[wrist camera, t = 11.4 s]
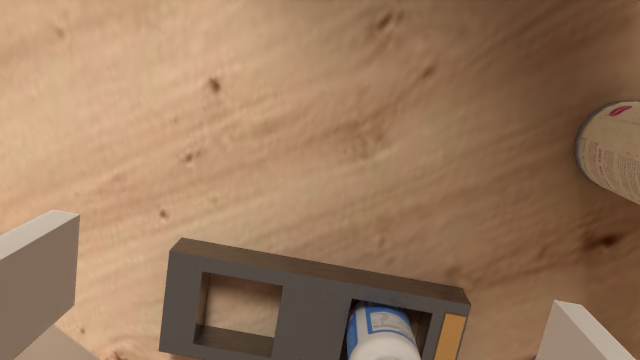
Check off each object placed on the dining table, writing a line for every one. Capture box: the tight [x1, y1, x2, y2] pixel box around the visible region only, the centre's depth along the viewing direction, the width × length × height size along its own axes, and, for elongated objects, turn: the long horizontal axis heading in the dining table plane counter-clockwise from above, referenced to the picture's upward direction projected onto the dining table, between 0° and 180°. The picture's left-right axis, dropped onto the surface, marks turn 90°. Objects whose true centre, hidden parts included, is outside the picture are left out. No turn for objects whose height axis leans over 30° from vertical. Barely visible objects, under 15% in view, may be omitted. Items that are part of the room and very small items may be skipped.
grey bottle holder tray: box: [159, 238, 471, 360], centre depth 41 cm, size 9×24×3 cm, turn 80°
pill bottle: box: [346, 300, 421, 360], centre depth 38 cm, size 6×5×10 cm
